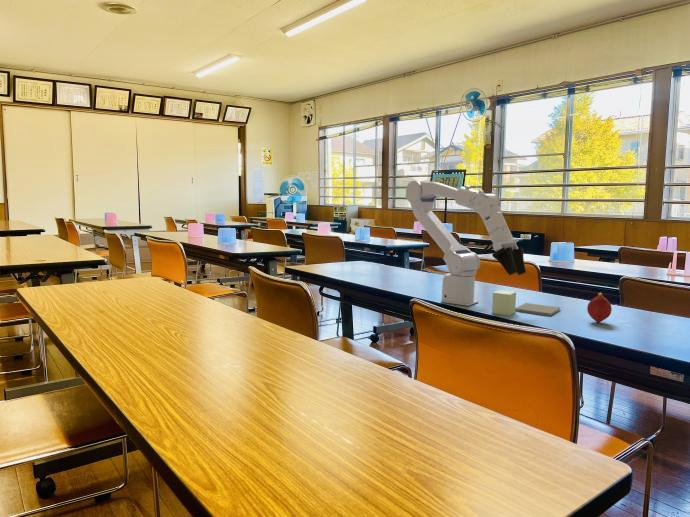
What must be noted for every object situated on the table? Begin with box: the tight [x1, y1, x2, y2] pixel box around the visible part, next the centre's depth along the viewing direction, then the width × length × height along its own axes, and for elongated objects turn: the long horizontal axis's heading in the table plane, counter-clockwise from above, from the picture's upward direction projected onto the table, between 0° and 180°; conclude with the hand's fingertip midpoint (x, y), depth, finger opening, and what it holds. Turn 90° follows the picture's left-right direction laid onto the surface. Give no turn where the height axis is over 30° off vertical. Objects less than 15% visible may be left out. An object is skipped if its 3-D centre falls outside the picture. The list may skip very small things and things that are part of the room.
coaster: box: [515, 302, 561, 317], centre depth 149 cm, size 10×10×1 cm
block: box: [491, 289, 517, 316], centre depth 146 cm, size 5×5×6 cm
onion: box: [586, 292, 613, 323], centre depth 136 cm, size 6×6×8 cm
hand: (517, 273), depth 144 cm, fingers open, 7 cm apart
